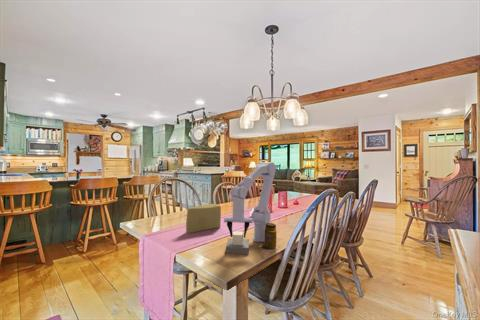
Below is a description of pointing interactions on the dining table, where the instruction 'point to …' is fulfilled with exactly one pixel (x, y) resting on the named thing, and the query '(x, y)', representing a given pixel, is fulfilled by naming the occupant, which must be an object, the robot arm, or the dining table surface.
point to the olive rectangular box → (203, 218)
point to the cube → (237, 238)
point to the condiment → (270, 238)
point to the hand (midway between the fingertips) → (238, 236)
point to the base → (237, 247)
